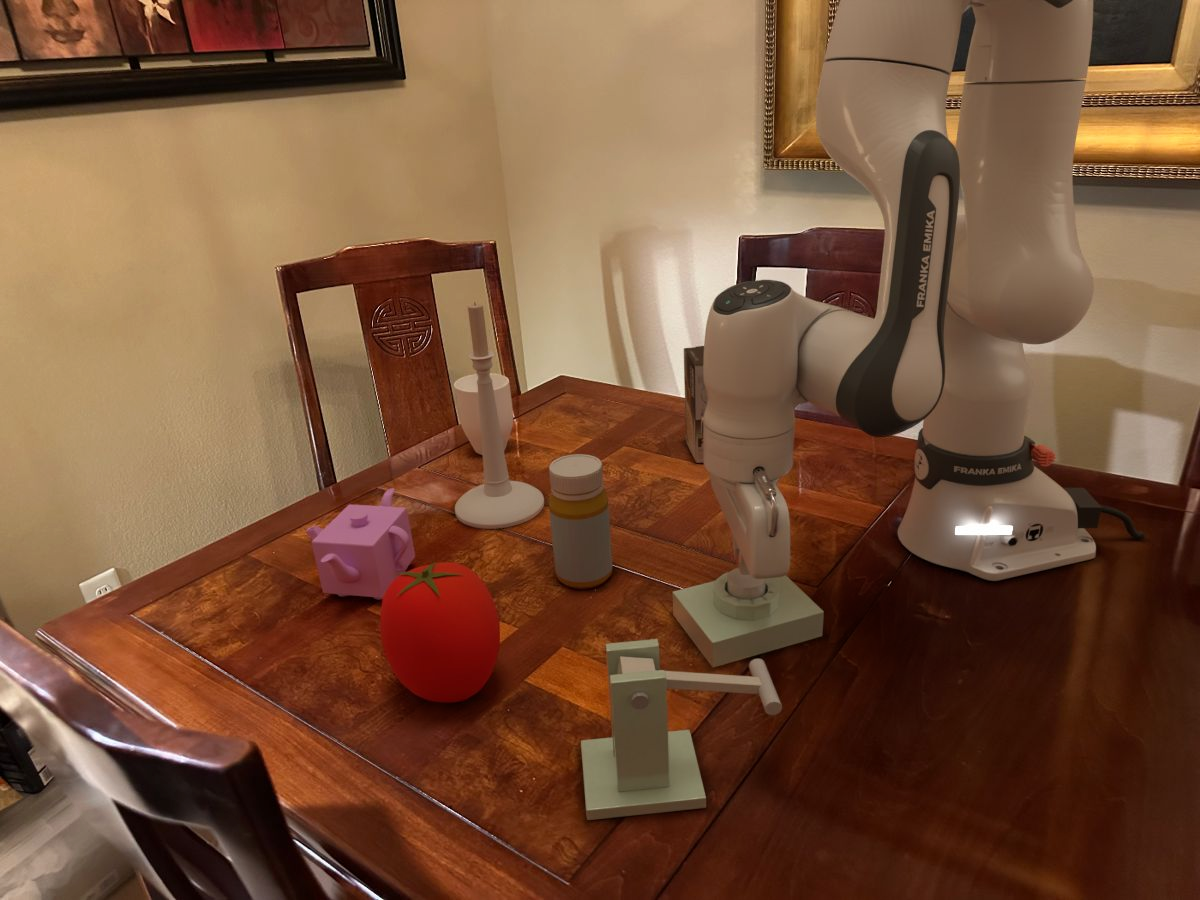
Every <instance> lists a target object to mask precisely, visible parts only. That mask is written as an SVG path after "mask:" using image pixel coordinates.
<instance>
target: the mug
mask: <svg viewBox="0 0 1200 900" xmlns="http://www.w3.org/2000/svg"><path fill="white" fill-rule="evenodd" d="M490 378H491V379H492V385H493V390H494V396H495V402H496V408H497V413H498V419H499V425H500V431H501V436H502V442H503V448H504V451H505V450H506V448H507V445H508V441H509V440H510V435H511V433H512V430H513V426H514V410H513V400H512V393H511V392H512V391H511V386H510V385H511V384H510V380H509V378H508V377H507V376H505V375H504V374H499V373H493V372H492V373H491V372H490ZM477 380H478V374H477V373H475V374H469V375H465V376H462V377H460V378H458V379H456V380H455V381H454V383H453V388H454V396H455V401H456V406H457V414H458V418H459V422H460V427H461V430H462V431H463V433H464V435H465V436H466V438H467V440H468V441H469V443H470V445H471V446H472V448H473V450H474V452H475V453H476V454H478V455H481V456H483V453H482V439H481V426H480V412H479V398H478V385H477Z"/></svg>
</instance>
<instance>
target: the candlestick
mask: <svg viewBox="0 0 1200 900" xmlns="http://www.w3.org/2000/svg"><path fill="white" fill-rule="evenodd" d="M467 313H468V320H469V327H470V338H471V343H472V352H471V353H469V354H468V355H467V358H469V359H470V360H471V361H472V369H473V370H475V371H476V373H475V374H478V380H477V385H478V398H479V412H480V426H481V439H482V453H483V455H482V468H483V481H484V483H481V484H479V485H477V486H475V487H473V488H471V489H469V490H468V491H466V492H465V493H463V495H462V496H460V497H459V498H458V499H457V501H456V503H455V505H454V514H455V517H456V518H457V520H458V521H459V522H461V523H462V524H463V525H466V526H469V527H471V528H476V529H485V530H486V529H487V530H488V529H489V530H495V529H504V528H509V527H515V526H518V525H521V524H524V523H527V522H528V521H531V520H532V519H533V518H535V517H536V516H538V515H539V514H540V513H541V512H542V510H543V509H544V506H545V497H544V495H543V493H542V491H541V490H540V489H538V488H536V487H535V486H533V485H531V484H529V483H526V482H523V481H517V480H510V474H509V472H508V471H509V470H508V465H507V460H506V454H505V450H504V448H503V442H502V436H501V431H500V425H499V419H498V413H497V408H496V402H495V396H494V390H493V385H492V379H491V378H490V373H491V369H492V367H493V361H492V359H493V357H494V356H495V355H496V352H494V351H491V350H489V345H488V336H487V327H486V320H485V319H486V318H485V309H484V304H482V303H476V301H474V303H473V304H469V305H467Z"/></svg>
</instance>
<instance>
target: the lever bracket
mask: <svg viewBox="0 0 1200 900" xmlns="http://www.w3.org/2000/svg"><path fill="white" fill-rule="evenodd" d="M620 656H622V657H636V658H651V659H653V661H654V666H655V670H656V671H646V672H636V673H626V674H617V670H618V664H619V659H620ZM605 657H606V671H607V686H608V699H609V700H608V701H609V702H608V703H609V717H610V728H611V731H610V732H611V737H601V738H591V739H582V740H580V750H581V763H582V776H583V790H584V791H583V792H584V800H585V803H584V804H585V816H586V820H587V821H595V820H603V819H613V818H623V817H633V816H642V815H652V814H661V813H669V812H679V811H681V812H682V811H688V810H699V809H706V808H707V796H706V792H705V787H704V783H703V779H702V775H701V771H700V766H699V762H698V757H697V754H696V750H695V745H694V742H693V737H692V734H691V730H690V729H679V730H671V731H670V730H669V722H668V721H669V720H668V719H669V717H668V688H667V686H666V674H665V671H666V670H665V669H661V661H660V658H661V657H660V644H659V639H658V638H651V639H640V640H631V641H621V642H620V641H619V642H610V643H605Z"/></svg>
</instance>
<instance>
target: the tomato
mask: <svg viewBox="0 0 1200 900" xmlns="http://www.w3.org/2000/svg"><path fill="white" fill-rule="evenodd" d="M395 574H402V575H400V576H398V577H397V578H396V579H394V580H393V581H392V582H391V583H390V585H389V587H388V588H387V590H386V592H385V594H384V596H383V599H381V607H380V618H379V619H380V621H379V622H380V623H379V627H380V628H379V629H380V640H381V645H382V648H383V651H384V655H385V658H386V660H387V662H388V664H389V666H390V668H391V671H392V672H393V674H394V675H395V677H396V678H397V680H398V681H399V683H401V684H402V685H403V686H404V687H405V688H406V689H407V690H408V691H410V692H411V693H412V694H414V695H415V696H417V697H419V698H422V699H424V700H426V701H429V702H434V703H441V704H442V703H444V704H451V703H460V702H463V701H465V700H468V699H470V698H471V697H473V696H474V695H476V694H477V693H479V692H480V691H481V690H482V688H483V687H484V686H485V685H486V683H487V682H488V680H489V679H490V677H491V675H492V673H493V671H494V668H495V665H496V663H497V660H498V657H499V653H500V651H499V650H500V646H501V625H500V624H501V621H500V618H499V614H498V611H497V607H496V604H495V600H494V599H493V597H492V594H491V593H490V591H489V589H488V587H487V586H486V583H485V582H484V581H483V580H482V579H481V578H480V577H479V576H478V575H477V574H476V572H475V571H474V570H473V569H471V568H469V567H467V566H465V565H463V564H460V563H457V562H451V561H448V562H438V563H437V562H436V561H434V562H433V563H431V564H425V565H422V566H418V567H414V568H412V569H410V570H408V571H406V572H404V573H395Z"/></svg>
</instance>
